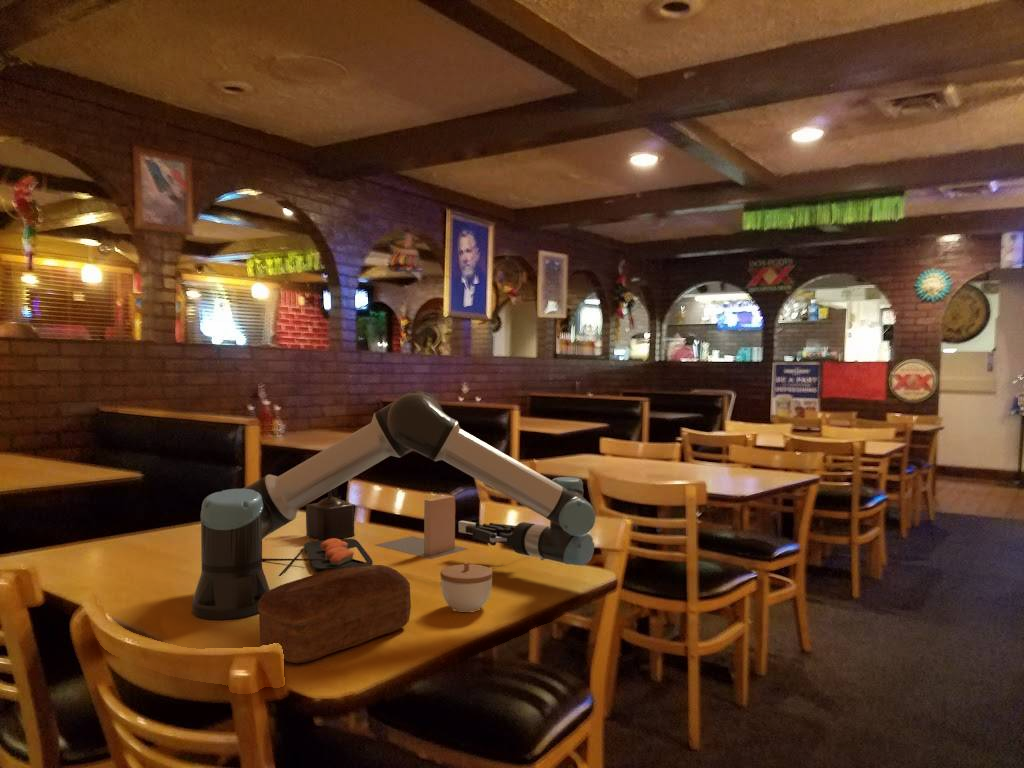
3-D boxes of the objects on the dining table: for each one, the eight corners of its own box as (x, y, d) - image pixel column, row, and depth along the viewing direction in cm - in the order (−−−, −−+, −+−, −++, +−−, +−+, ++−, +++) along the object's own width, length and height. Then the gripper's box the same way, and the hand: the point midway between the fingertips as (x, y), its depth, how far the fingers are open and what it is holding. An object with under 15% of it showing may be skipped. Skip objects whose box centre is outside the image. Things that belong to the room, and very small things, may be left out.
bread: (246, 653, 128) (246, 583, 128) (373, 612, 150) (373, 552, 149) (292, 675, 119) (292, 600, 119) (420, 628, 141) (421, 564, 140)
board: (468, 552, 198) (468, 548, 198) (431, 562, 187) (431, 558, 187) (412, 539, 212) (412, 536, 212) (374, 548, 201) (374, 544, 201)
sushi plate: (375, 571, 180) (375, 556, 180) (244, 583, 170) (244, 567, 169) (355, 544, 208) (355, 531, 207) (242, 553, 197) (242, 539, 197)
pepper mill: (357, 536, 216) (357, 474, 215) (324, 542, 208) (324, 478, 208) (328, 527, 227) (328, 469, 226) (296, 533, 219) (296, 472, 218)
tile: (454, 548, 198) (455, 496, 197) (430, 555, 191) (430, 501, 191) (448, 547, 199) (448, 495, 199) (424, 553, 192) (424, 499, 192)
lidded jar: (465, 596, 160) (465, 553, 160) (502, 607, 153) (503, 562, 153) (429, 609, 152) (429, 563, 151) (467, 620, 145) (468, 573, 145)
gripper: (515, 561, 170) (442, 545, 185) (549, 550, 180) (477, 536, 195) (515, 528, 170) (442, 515, 185) (549, 519, 180) (477, 508, 195)
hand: (460, 526), depth 190 cm, fingers closed
